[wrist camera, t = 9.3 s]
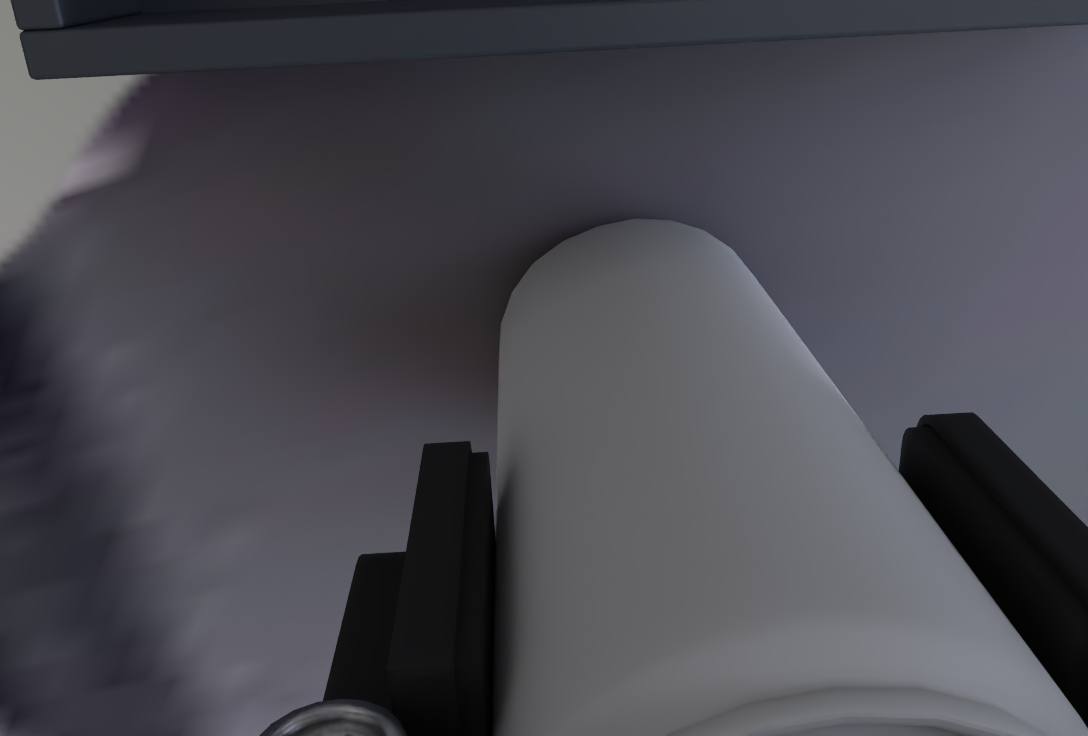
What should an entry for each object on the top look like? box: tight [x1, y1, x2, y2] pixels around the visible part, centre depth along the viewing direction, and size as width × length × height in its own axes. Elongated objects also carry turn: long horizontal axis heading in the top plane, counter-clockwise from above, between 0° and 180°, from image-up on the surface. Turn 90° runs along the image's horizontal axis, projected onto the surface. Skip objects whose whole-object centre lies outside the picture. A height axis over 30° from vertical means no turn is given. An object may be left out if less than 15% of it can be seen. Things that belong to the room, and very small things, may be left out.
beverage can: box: [492, 219, 1088, 736], centre depth 12 cm, size 5×5×12 cm
